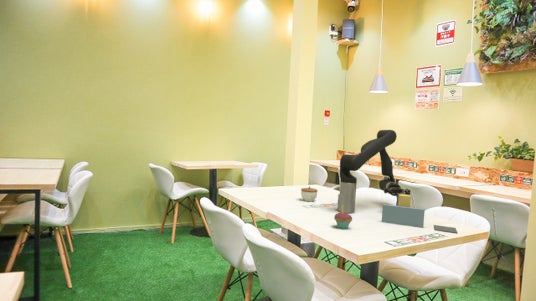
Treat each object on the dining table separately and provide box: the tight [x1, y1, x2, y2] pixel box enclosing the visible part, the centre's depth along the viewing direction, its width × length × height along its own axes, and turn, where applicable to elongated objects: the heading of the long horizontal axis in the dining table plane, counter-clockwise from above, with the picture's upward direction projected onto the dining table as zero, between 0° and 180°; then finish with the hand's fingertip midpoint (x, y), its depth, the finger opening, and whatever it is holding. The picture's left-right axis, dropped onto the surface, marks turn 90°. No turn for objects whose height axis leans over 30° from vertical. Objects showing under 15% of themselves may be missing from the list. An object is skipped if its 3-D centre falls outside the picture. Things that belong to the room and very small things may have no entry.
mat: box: [433, 224, 458, 234], centre depth 175 cm, size 10×10×1 cm
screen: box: [381, 204, 426, 229], centre depth 181 cm, size 20×2×9 cm, turn 67°
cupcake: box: [333, 203, 353, 230], centre depth 168 cm, size 9×8×12 cm
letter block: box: [397, 194, 412, 208], centre depth 188 cm, size 5×5×14 cm
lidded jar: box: [300, 186, 318, 203], centre depth 232 cm, size 11×11×9 cm
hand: (399, 193), depth 199 cm, fingers open, 8 cm apart
